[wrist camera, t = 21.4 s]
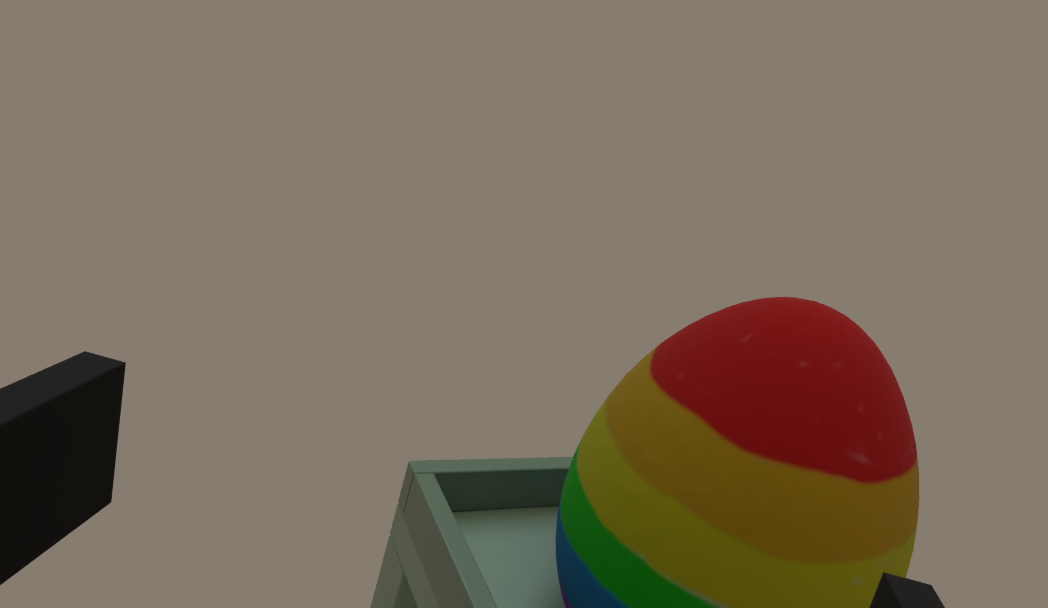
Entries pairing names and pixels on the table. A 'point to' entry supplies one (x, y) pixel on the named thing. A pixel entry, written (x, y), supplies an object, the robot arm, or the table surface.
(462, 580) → the stand
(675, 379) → the decorative egg
